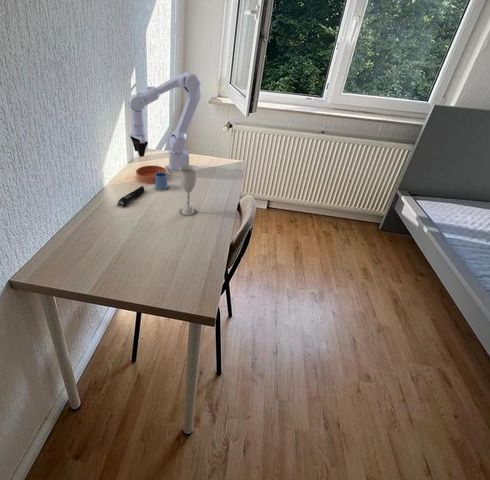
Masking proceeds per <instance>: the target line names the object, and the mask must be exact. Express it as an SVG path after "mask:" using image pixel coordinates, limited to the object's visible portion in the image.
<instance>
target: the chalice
mask: <svg viewBox="0 0 490 480" xmlns="http://www.w3.org/2000/svg"><path fill="white" fill-rule="evenodd" d="M179 169H180V171H179V172H180V183H181V186H182V188H183V190H184V192H185V193H186V196H185V197H186V200H185V202H186V205H184V206H183V207H182V209H181V214H183V215H185V216H192V215H194V214H195V210H194V208H193V206H192V205H191V204H190V203H191V200H190V198H191V195H190V193H191V192H193V190H194V188H195V186H196V183H197V172H198V170H199V167H198V166H196V165H194V164H189V165H184V166H181V167H180V168H179Z"/></svg>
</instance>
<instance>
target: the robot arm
mask: <svg viewBox="0 0 490 480" xmlns="http://www.w3.org/2000/svg"><path fill="white" fill-rule="evenodd" d="M175 88H181V89H184V91H185V92H186V95H187V99H186V101H185V104H184V106H183V109H182V112H181V115H180V118H179V120H178V123H177V125H176V127H175V129H174V130H173V131H172V133H171V134H170V136H169V137H168V138H167V145H168V147H169V149H168V165H166V168H167V169H168V170H169V171H170V173H174V172H181V171H180V169H179V168H180V167H181V166H184V165H190V154H189V151H188V150H187V149H186V143H187V133H188V130H189V128H190V125H191V122H192V120H193V118H194V115H195V113H196V111H197V107H198V105H199V103H200V99H201V81H200V79H199V77H198V76H197V75H196V74H194V73H191V72H190V71H189V70H184V71H182V72H181V73H177V74H176V75H174V76H173V77H171V78H169V79H168V80H166V81H164V82H163V83H161V84H159V85H158V86H156V87H155V86H150V85H148V86H146V88H145V89H144V90H142V91H138V92H136V94H132V95H131V96H130V97H129V99H128V101H127V103H128V105H129V110H130V111H129V112H130V125H131V133H130V134H129V138H130V140H131V142H132V145H133V148H134V152H137V153H138V157H139V158H145V155H146V149H147V146H148V144H149V142H148V141H147V140H146V132H145V116H144V115H145V114H144V108H145V107H146V106H149V105H150V104H152V103H154V102H156V101H157V100H159V99H160V96H161V95H163V94H165V93H167V92H169V91H171V90H173V89H175Z"/></svg>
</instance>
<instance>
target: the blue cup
mask: <svg viewBox="0 0 490 480" xmlns="http://www.w3.org/2000/svg"><path fill="white" fill-rule="evenodd" d="M168 184H169V182H168V173H167V172H166V173H164V172H158V173H156V174H155V183H154V187H155V189H156V190H157V191H164V190H167V189H168V187H169V185H168Z"/></svg>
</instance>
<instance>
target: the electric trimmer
mask: <svg viewBox="0 0 490 480" xmlns="http://www.w3.org/2000/svg"><path fill="white" fill-rule="evenodd" d="M144 192H145V186H143V185H142V186H139V187H137V188H136V189H134V190H133V191H130V192H129V193H128V194H126V195H124V196H122V197H121V198H120V199H119V200H118V201H117V205H118V207H121V208H124V207H126V206H127V204H129V203H130V202H132V201H133V200H134V199H138V198H139V197H140V196H141V195H142V194H143V193H144Z"/></svg>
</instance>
